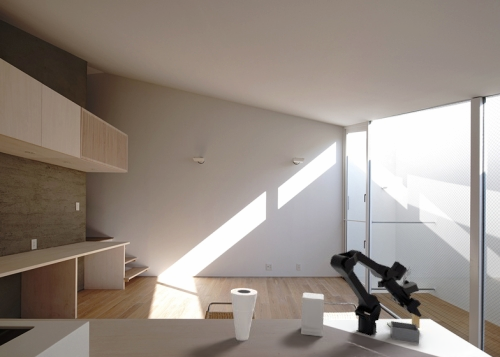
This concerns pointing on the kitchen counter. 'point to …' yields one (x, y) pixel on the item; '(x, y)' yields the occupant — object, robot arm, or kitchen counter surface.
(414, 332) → the tub
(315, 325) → the supplement box
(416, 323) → the lid
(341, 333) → the kitchen counter surface
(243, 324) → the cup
